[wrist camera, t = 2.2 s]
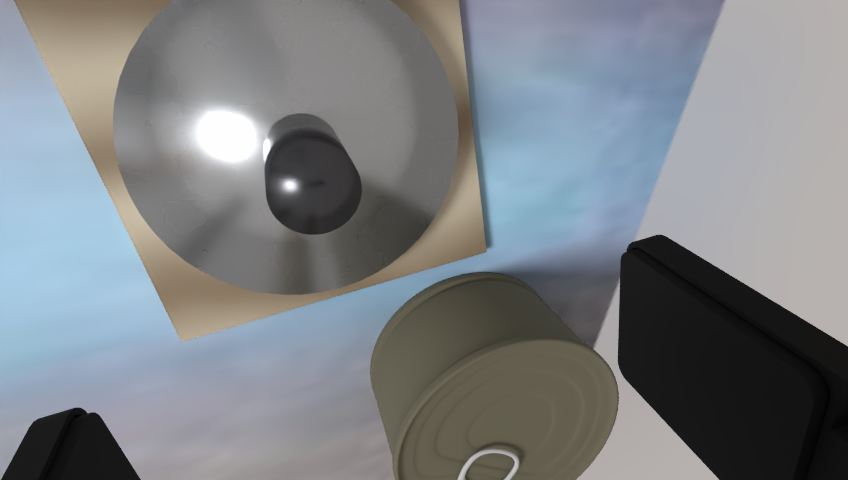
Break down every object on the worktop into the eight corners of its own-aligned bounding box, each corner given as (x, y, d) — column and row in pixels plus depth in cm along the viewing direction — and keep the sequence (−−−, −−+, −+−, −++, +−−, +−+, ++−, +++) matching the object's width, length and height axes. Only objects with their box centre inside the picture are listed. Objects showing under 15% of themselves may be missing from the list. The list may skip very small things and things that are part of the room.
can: (586, 304, 32) (661, 375, 26) (488, 445, 35) (535, 536, 29) (431, 238, 27) (481, 308, 21) (330, 410, 30) (349, 514, 24)
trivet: (6, -27, 18) (1, -27, 17) (444, -95, 20) (448, -97, 20) (182, 337, 25) (181, 341, 25) (483, 248, 28) (486, 251, 28)
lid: (48, 0, 18) (-35, 4, 13) (427, -63, 20) (486, -81, 15) (195, 319, 24) (179, 407, 19) (467, 240, 27) (517, 299, 22)
